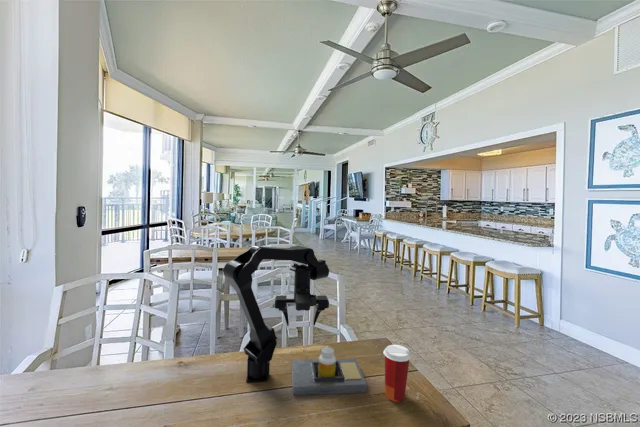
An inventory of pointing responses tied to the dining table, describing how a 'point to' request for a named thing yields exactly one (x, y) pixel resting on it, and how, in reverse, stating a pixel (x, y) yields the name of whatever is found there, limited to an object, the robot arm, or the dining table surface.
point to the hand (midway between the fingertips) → (301, 325)
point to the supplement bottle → (327, 363)
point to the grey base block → (327, 378)
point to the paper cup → (396, 371)
